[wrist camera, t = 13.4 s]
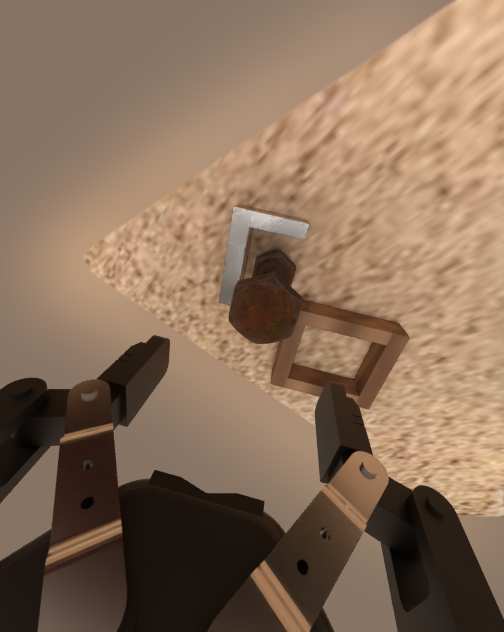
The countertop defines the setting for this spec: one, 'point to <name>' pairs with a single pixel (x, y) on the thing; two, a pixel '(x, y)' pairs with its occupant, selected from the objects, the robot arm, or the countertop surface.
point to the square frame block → (380, 332)
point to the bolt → (266, 301)
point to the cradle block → (241, 237)
